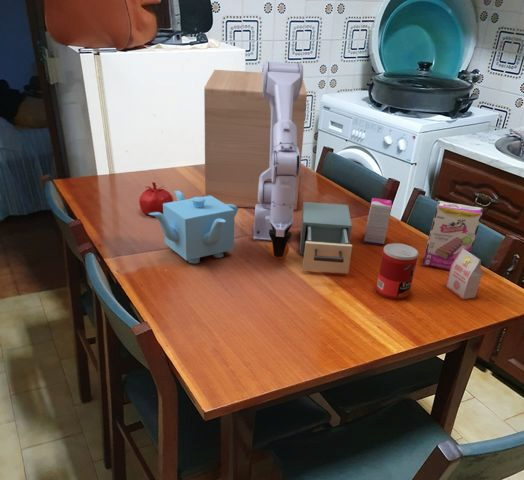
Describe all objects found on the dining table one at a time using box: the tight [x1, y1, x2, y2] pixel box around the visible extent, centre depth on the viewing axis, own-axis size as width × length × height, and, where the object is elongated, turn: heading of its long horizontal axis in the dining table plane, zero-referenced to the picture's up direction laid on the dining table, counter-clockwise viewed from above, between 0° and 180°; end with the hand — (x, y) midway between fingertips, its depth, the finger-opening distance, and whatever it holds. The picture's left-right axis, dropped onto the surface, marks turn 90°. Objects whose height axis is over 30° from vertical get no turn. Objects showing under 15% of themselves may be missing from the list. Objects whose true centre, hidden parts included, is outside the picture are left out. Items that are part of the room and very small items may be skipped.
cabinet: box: [299, 201, 353, 256], centre depth 150 cm, size 16×13×9 cm
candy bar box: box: [422, 200, 484, 271], centre depth 140 cm, size 11×5×16 cm, turn 71°
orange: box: [269, 242, 290, 259], centre depth 142 cm, size 5×5×5 cm
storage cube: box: [203, 69, 308, 211], centre depth 178 cm, size 34×29×34 cm
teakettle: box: [148, 190, 239, 264], centre depth 140 cm, size 19×19×15 cm
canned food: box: [376, 242, 419, 300], centre depth 128 cm, size 8×8×11 cm
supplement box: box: [363, 197, 393, 246], centre depth 154 cm, size 6×6×12 cm
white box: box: [445, 248, 483, 300], centre depth 131 cm, size 4×7×10 cm, turn 20°
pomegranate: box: [138, 181, 174, 216], centre depth 163 cm, size 10×10×9 cm
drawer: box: [302, 225, 353, 274], centre depth 138 cm, size 20×11×7 cm, turn 176°
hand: (278, 252), depth 143 cm, fingers closed on orange, 5 cm apart
